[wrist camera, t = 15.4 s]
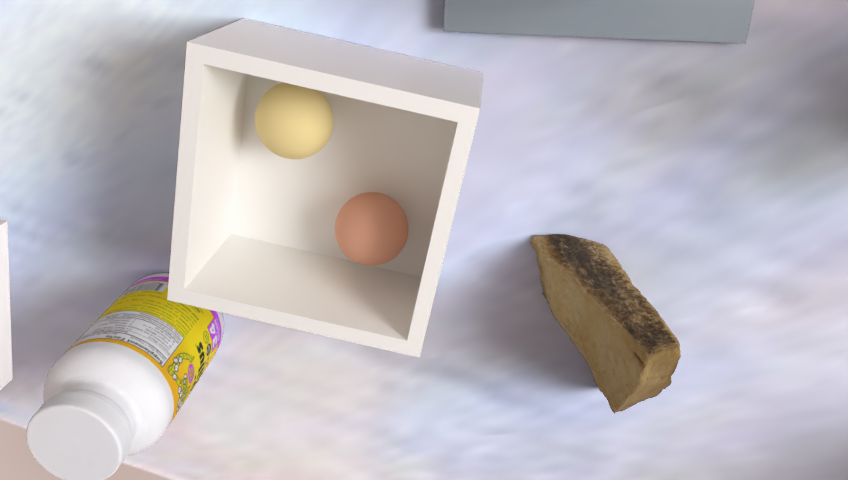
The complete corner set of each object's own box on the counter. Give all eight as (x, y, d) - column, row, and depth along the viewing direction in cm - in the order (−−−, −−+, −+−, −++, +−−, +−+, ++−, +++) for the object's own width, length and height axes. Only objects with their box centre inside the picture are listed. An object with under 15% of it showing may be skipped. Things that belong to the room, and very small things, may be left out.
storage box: (483, 72, 40) (479, 108, 33) (432, 285, 45) (419, 357, 38) (243, 18, 40) (187, 41, 33) (220, 237, 45) (167, 300, 38)
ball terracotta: (418, 190, 42) (411, 217, 38) (404, 254, 44) (396, 285, 40) (348, 175, 42) (334, 200, 38) (337, 238, 44) (322, 268, 40)
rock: (685, 425, 45) (742, 290, 40) (610, 504, 39) (665, 359, 34) (538, 333, 51) (571, 205, 45) (455, 391, 45) (481, 251, 40)
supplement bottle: (198, 378, 49) (105, 523, 38) (108, 324, 48) (-16, 456, 37) (246, 306, 47) (163, 437, 35) (153, 248, 46) (35, 363, 34)
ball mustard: (345, 83, 40) (330, 100, 36) (333, 154, 42) (318, 177, 38) (271, 66, 40) (249, 82, 36) (263, 137, 42) (240, 159, 38)
